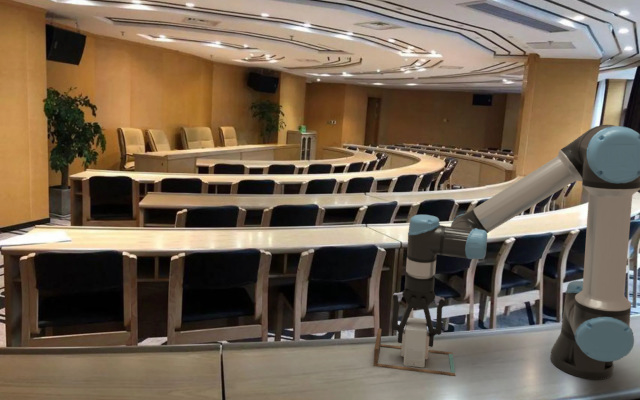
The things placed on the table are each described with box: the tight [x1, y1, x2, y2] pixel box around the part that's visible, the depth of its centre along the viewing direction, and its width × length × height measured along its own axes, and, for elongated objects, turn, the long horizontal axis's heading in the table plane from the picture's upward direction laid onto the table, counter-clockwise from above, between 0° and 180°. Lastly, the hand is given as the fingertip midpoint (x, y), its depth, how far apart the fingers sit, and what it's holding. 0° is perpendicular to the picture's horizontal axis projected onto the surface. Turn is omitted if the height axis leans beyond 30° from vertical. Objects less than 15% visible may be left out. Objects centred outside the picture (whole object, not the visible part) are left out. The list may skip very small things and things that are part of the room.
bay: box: [373, 328, 456, 377], centre depth 136 cm, size 21×12×5 cm, turn 79°
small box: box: [403, 316, 428, 369], centre depth 136 cm, size 8×6×10 cm
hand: (414, 355), depth 136 cm, fingers closed on small box, 6 cm apart
